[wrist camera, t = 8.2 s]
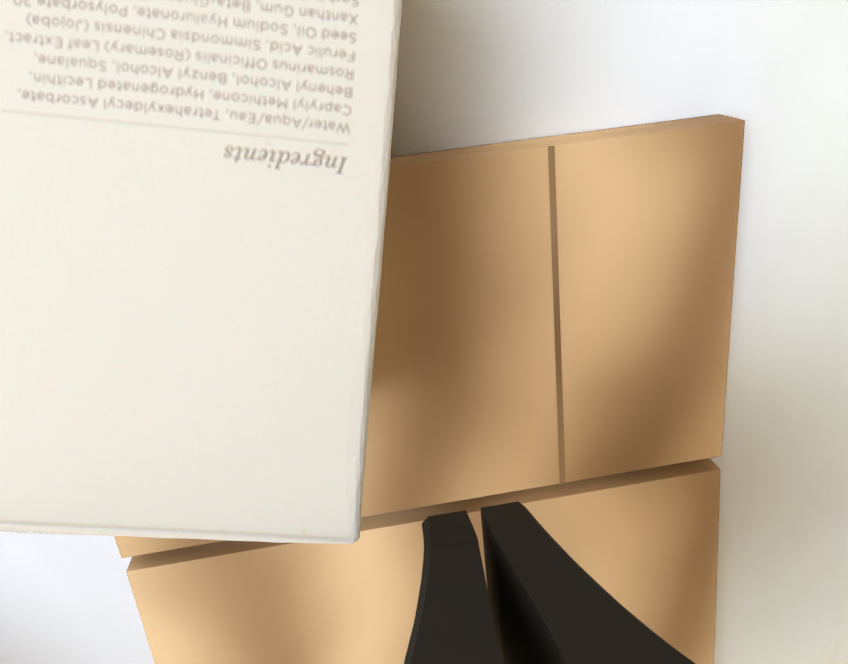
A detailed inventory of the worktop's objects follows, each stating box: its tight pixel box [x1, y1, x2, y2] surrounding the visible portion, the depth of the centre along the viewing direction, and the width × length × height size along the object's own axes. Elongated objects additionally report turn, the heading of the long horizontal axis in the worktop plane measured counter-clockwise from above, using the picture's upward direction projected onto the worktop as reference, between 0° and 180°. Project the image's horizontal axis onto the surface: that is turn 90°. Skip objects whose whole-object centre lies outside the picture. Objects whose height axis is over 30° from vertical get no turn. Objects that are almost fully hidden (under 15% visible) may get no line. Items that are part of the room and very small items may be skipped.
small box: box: [0, 0, 403, 544], centre depth 13 cm, size 8×6×10 cm
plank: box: [126, 458, 720, 664], centre depth 24 cm, size 18×10×1 cm, turn 96°
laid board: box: [114, 114, 745, 558], centre depth 20 cm, size 18×10×1 cm, turn 96°
